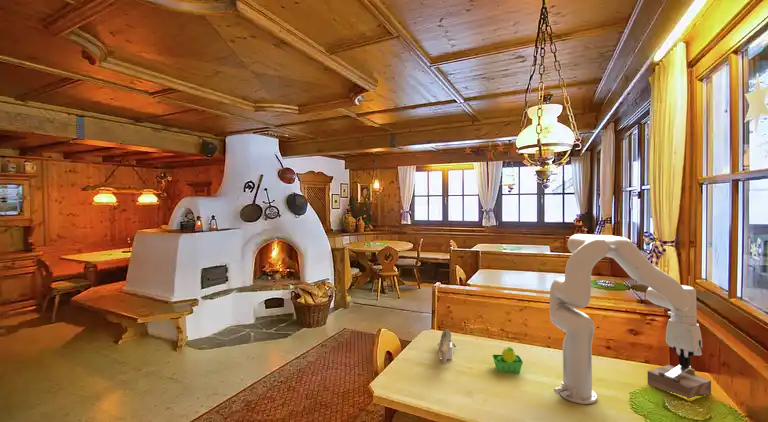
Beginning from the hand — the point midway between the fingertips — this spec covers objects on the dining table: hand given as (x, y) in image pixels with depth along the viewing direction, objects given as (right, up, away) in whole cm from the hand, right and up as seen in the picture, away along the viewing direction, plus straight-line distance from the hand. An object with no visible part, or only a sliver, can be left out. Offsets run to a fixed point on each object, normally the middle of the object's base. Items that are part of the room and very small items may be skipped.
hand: (684, 365), depth 137 cm
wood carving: (-86, -10, +30) cm, 92 cm away
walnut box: (-3, -8, -1) cm, 9 cm away
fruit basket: (-62, -10, +17) cm, 65 cm away
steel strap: (-4, -2, -1) cm, 5 cm away
